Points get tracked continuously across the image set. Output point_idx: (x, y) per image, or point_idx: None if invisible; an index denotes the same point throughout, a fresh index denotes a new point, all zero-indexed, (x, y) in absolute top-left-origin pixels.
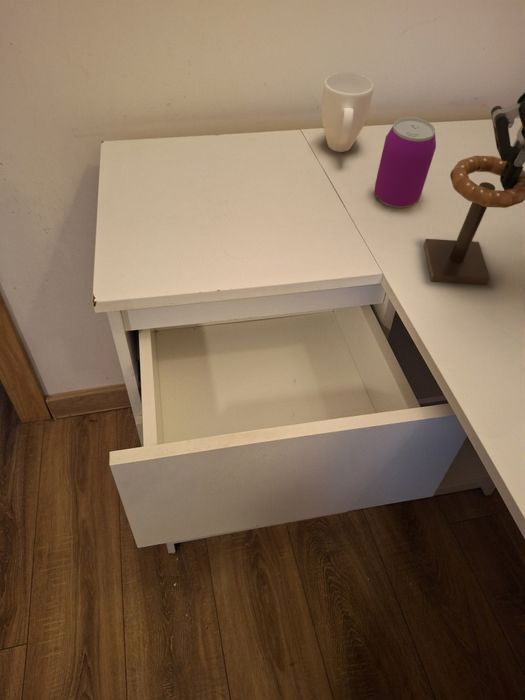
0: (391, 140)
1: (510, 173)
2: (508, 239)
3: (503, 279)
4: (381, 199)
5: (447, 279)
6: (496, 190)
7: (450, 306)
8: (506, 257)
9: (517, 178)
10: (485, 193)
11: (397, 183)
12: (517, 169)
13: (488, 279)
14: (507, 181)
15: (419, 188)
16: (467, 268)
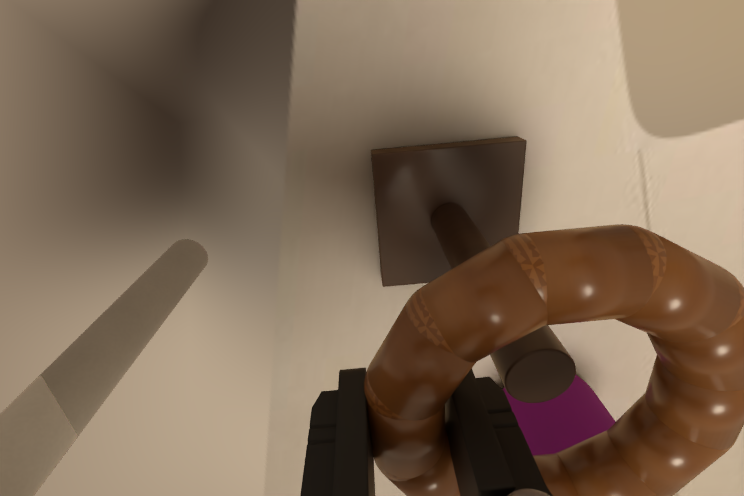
0: None
1: (510, 445)
2: (301, 317)
3: (325, 178)
4: (584, 382)
5: (480, 141)
6: (610, 312)
7: (485, 40)
8: (310, 257)
9: (461, 421)
10: (682, 279)
11: (595, 417)
12: (505, 472)
13: (375, 152)
14: (489, 403)
15: (523, 416)
16: (428, 183)
